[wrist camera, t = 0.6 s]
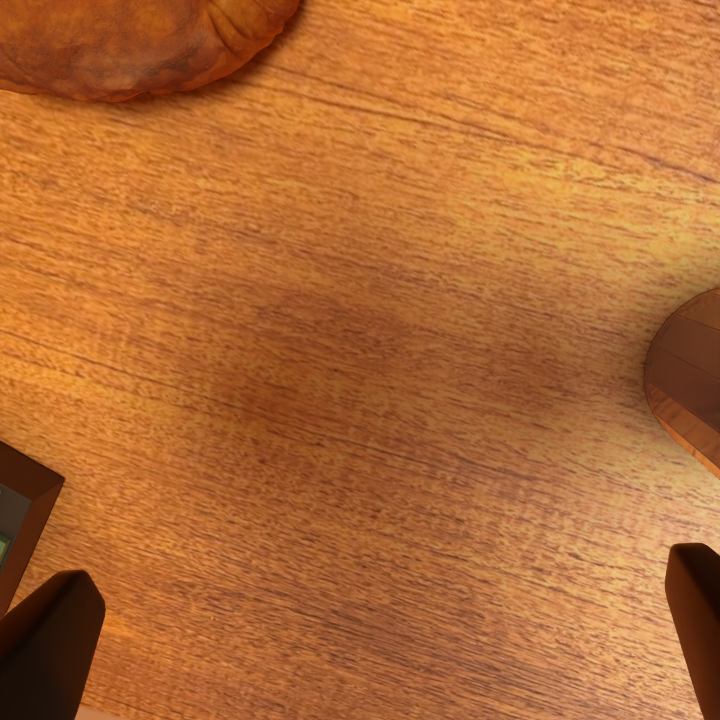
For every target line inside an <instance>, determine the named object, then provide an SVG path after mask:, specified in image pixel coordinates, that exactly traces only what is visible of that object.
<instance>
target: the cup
mask: <svg viewBox="0 0 720 720" xmlns="http://www.w3.org/2000/svg"><path fill="white" fill-rule="evenodd" d="M644 385H645V392H646V396H647V400H648V403H649V405H650V407H651V410H652V412H653V414H654V415H655V417H656V418H657V420H658V421H659V423H660V424H661V425H662V426H663V427H664V428H665V430H667V431H668V432H669V434H670V435H671V436H672V438H673V439H674V440H675V441H677V442H678V443H679V444H680V445H681V446H682V447H683V448H684V449H685V450H687V451H688V452H689V453H690V454H691V455H692V456H693V457H694V458H696V459H697V460H698V461H699V462H700V463H701V464H702V465H703V466H705V467H706V468H707V469H708V470H709V471H710V472H711V473H712V474H714V475H715V476H716V477H717V478H718V479H719V480H720V288H717V289H713V290H710V291H708V292H706V293H704V294H701V295H699V296H697V297H696V298H694V299H692V300H690V301H689V302H687V303H686V304H685V305H683V306H682V307H681V308H679V309H678V310H677V311H676V312H675V313H674V314H673V315H672V316H671V317H670V318H668V320H667V321H666V322H665V323H664V325H663V326H662V327H661V328H660V330H659V332H658V333H657V335H656V336H655V338H654V340H653V342H652V344H651V347H650V349H649V352H648V355H647V358H646V364H645V370H644Z"/></svg>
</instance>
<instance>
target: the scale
mask: <svg viewBox="0 0 720 720" xmlns="http://www.w3.org/2000/svg"><path fill="white" fill-rule="evenodd" d="M63 482H64V478H62V477H60V476H59V475H57V474H55V473H53V472H52V471H50V470H48V469H46V468H45V467H43V466H41V465H39V464H38V463H36V462H34V461H32V460H31V459H29V458H27V457H25V456H24V455H22V454H20V453H18V452H17V451H15V450H13V449H12V448H10V447H8V446H6V445H5V444H3V443H1V442H0V619H1V618H2V617H3V616H4V615H5V613H6V610H7V608H8V606H9V604H10V601H11V599H12V597H13V595H14V592H15V590H16V588H17V585H18V583H19V581H20V579H21V576H22V574H23V572H24V570H25V567H26V565H27V563H28V561H29V558H30V556H31V554H32V552H33V549H34V547H35V545H36V543H37V540H38V538H39V536H40V534H41V531H42V529H43V527H44V525H45V522H46V520H47V518H48V516H49V513H50V511H51V509H52V507H53V504H54V502H55V500H56V498H57V495H58V493H59V491H60V489H61V486H62V484H63Z"/></svg>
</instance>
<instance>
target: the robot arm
mask: <svg viewBox="0 0 720 720" xmlns="http://www.w3.org/2000/svg"><path fill="white" fill-rule="evenodd" d="M665 592H666V597H667V601H668V604H669V607H670V611H671V614H672V617H673V621H674V624H675V627H676V631H677V634H678V637H679V641H680V644H681V647H682V651H683V654H684V657H685V660H686V664H687V667H688V670H689V674H690V677H691V680H692V684H693V687H694V690H695V693H696V697H697V700H698V703H699V706H700V709H701V712H702V714H703V717H704V719H705V720H720V556H719V555H718V554H717V553H716V552H715V551H713V550H712V549H711V548H710V547H708V546H707V545H705V544H703V543H678V544H674V545H673V546H672V547H671V548H670V552H669V558H668V564H667V571H666V577H665ZM105 611H106V608H105V601H104V599H103V597H102V595H101V594H100V592H99V590H98V589H97V587H96V585H95V584H94V582H93V580H92V578H91V577H90V575H89V574H88V573H87V572H86V571H84V570H65V571H60V572H58V573H56V574H55V575H54V576H52V577H51V578H50V579H49V580H47V581H46V582H45V583H44V584H43V585H41V586H40V587H39V588H38V589H36V590H35V591H34V592H33V593H32V594H30V595H29V596H28V597H27V598H25V599H24V600H23V601H22V602H21V603H19V604H18V605H17V606H16V607H14V608H13V609H12V610H11V611H10V612H8V613H7V614H6V615H5V616H4V617H2V618H1V619H0V720H74V719H75V716H76V714H77V711H78V708H79V704H80V701H81V698H82V695H83V691H84V688H85V684H86V681H87V677H88V674H89V670H90V667H91V663H92V660H93V656H94V653H95V649H96V646H97V642H98V639H99V635H100V632H101V628H102V625H103V621H104V618H105Z"/></svg>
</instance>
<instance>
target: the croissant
mask: <svg viewBox="0 0 720 720" xmlns="http://www.w3.org/2000/svg"><path fill="white" fill-rule="evenodd" d="M299 2H300V0H0V89H1V90H7V91H12V92H16V93H20V94H27V95H36V94H39V93H55V94H56V95H58V96H59V97H62V98H66V99H70V100H74V101H80V102H87V103H109V102H121V101H126V100H128V99H130V98H132V97H134V96H136V95H139V93H143V92H147V91H148V93H150V94H164V95H167V94H169V93H170V92H172V91H184V92H187V91H190V90H193V89H196V88H198V87H201V86H203V85H206V84H208V83H210V82H213V81H215V80H218V79H220V78H222V77H225V76H227V75H230V74H232V73H233V72H235V71H236V70H237V69H239V68H240V67H241V66H242V65H244V64H245V63H246V62H248V61H249V60H251V59H252V58H253V57H254V55H255V54H256V53H257V52H258V51H259V50H261V49H263V48H265V47H267V46H269V45H270V44H271V42H272V40H273V38H274V36H275V35H277V34H280V33H282V31H283V27H284V23H285V21H286V20H287V19H289V18H290V17H291V16H292V15H293V14H294V13H295V12H296V10H297V7H298V5H299Z"/></svg>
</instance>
